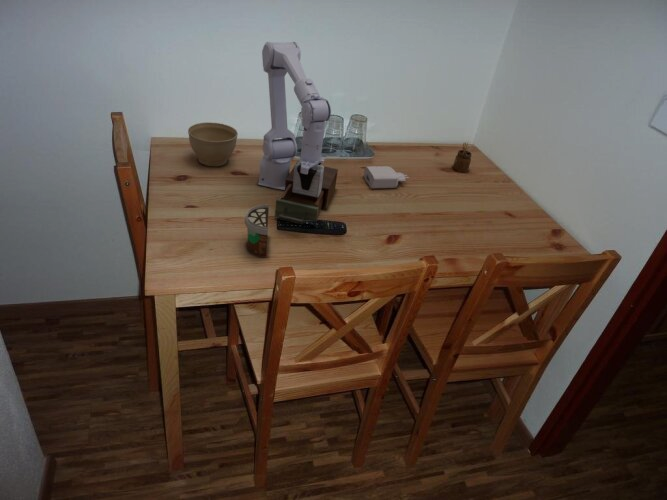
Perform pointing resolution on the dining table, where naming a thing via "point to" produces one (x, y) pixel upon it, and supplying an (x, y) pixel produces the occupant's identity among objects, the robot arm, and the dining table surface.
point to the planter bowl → (212, 142)
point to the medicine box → (315, 184)
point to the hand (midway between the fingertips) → (307, 185)
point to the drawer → (298, 206)
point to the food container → (257, 229)
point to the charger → (382, 177)
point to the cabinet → (327, 183)
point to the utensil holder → (462, 159)
